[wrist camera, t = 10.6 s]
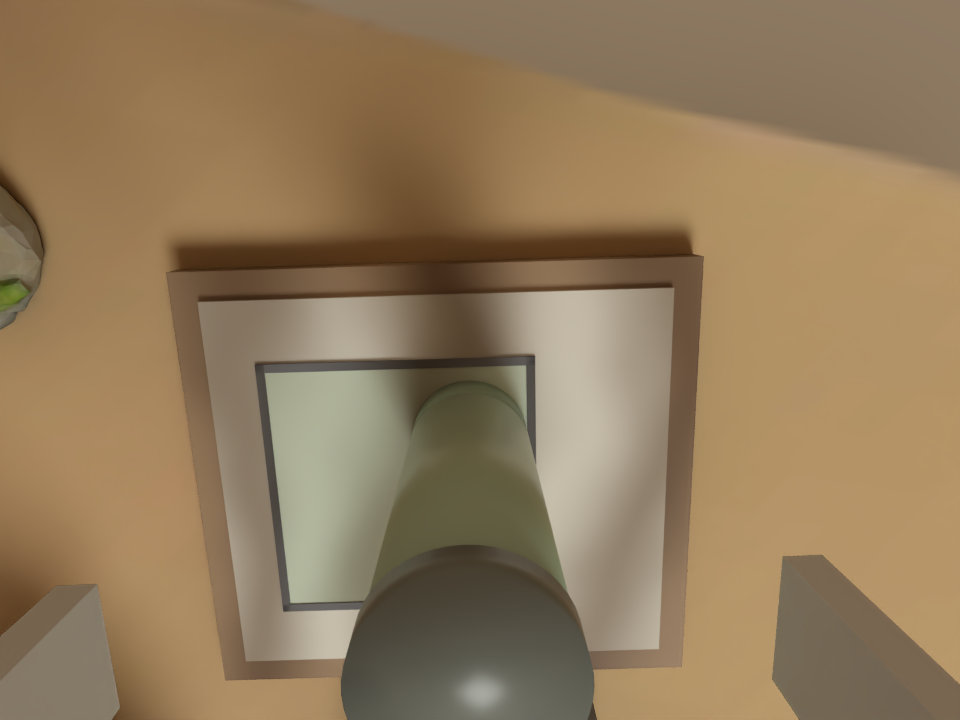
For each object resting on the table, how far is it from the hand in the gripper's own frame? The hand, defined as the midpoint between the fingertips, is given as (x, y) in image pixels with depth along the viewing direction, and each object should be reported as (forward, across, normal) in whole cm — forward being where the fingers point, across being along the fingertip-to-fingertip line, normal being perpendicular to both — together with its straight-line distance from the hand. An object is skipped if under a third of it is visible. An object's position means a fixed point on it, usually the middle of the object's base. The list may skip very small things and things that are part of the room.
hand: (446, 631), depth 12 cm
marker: (+10, +1, 0) cm, 10 cm away
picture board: (+12, 0, -2) cm, 12 cm away
